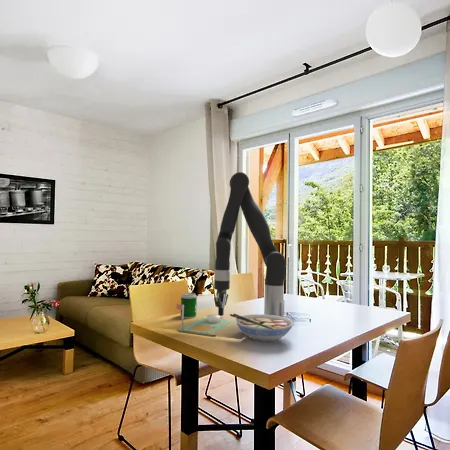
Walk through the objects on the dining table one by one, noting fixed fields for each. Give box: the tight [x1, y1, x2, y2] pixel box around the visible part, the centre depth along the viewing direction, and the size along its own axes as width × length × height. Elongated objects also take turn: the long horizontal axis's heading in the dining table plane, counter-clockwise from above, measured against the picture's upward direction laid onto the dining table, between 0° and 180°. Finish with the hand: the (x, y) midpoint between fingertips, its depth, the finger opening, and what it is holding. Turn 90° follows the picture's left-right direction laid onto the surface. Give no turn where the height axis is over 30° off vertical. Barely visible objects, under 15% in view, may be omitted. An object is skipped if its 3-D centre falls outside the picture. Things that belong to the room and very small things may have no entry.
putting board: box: [176, 303, 234, 338], centre depth 153 cm, size 18×24×11 cm
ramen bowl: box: [229, 313, 294, 343], centre depth 138 cm, size 25×23×8 cm
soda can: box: [180, 292, 198, 319], centre depth 169 cm, size 8×8×12 cm
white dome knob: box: [206, 314, 222, 323], centre depth 160 cm, size 6×6×2 cm
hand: (220, 315), depth 168 cm, fingers closed
